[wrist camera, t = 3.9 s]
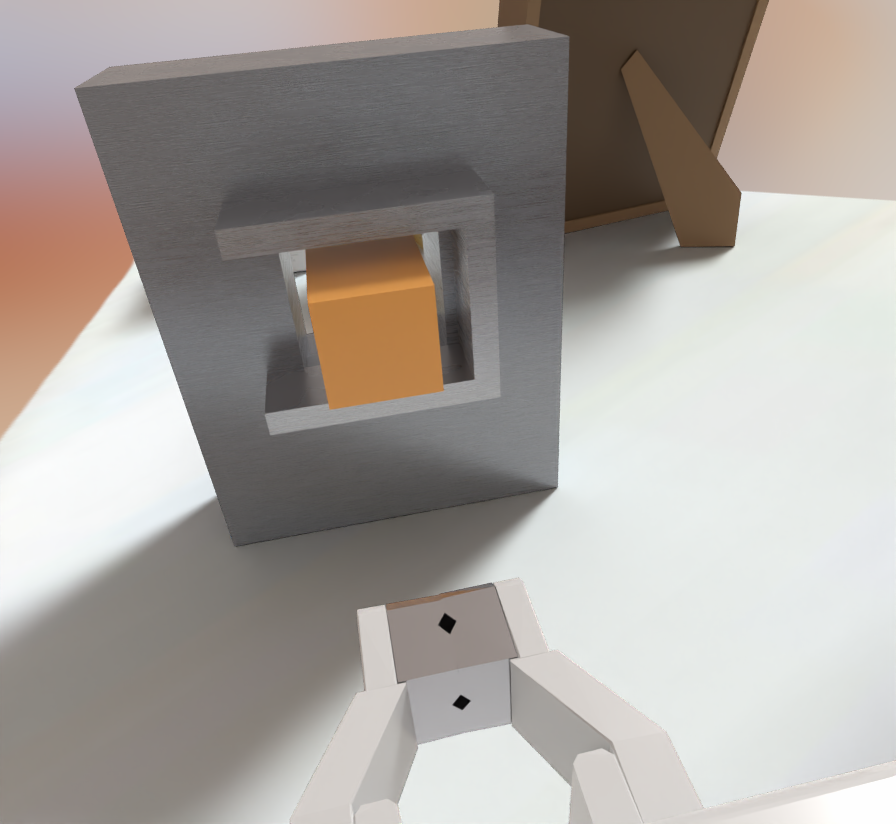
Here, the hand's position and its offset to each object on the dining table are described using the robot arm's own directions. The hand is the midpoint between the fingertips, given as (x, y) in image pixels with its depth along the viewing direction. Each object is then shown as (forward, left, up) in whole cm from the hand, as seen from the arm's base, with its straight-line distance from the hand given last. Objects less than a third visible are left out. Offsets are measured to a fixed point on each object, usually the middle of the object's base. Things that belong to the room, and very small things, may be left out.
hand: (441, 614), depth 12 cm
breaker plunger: (0, -17, -3) cm, 17 cm away
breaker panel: (0, -18, -13) cm, 22 cm away
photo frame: (-25, -48, -13) cm, 56 cm away
